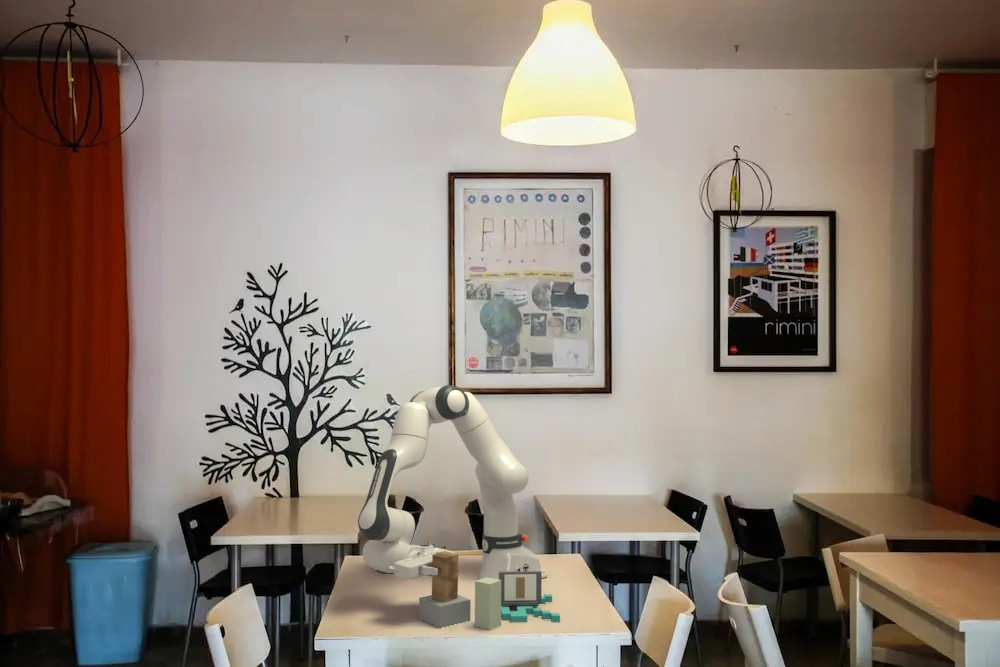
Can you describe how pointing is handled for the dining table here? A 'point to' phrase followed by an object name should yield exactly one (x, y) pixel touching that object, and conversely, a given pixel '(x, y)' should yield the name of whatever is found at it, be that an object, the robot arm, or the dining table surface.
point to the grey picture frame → (520, 588)
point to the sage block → (487, 603)
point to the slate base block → (444, 611)
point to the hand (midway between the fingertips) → (447, 568)
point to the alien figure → (528, 611)
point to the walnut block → (445, 576)
